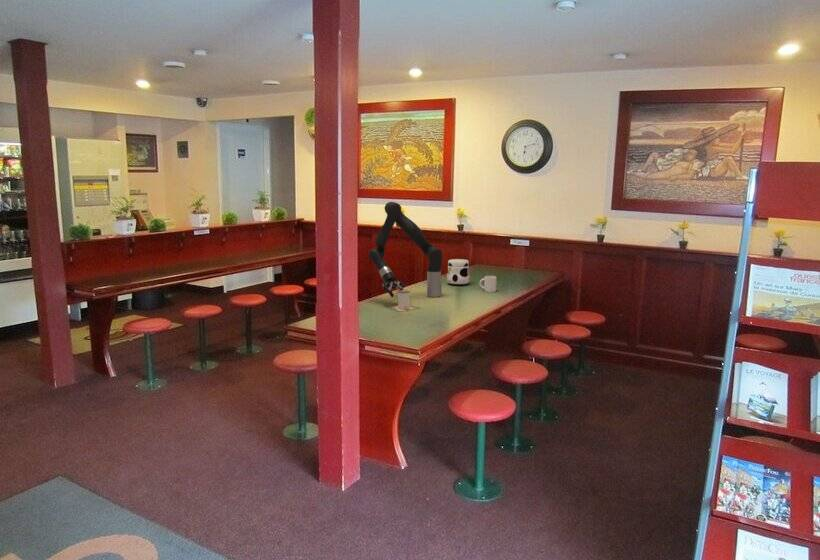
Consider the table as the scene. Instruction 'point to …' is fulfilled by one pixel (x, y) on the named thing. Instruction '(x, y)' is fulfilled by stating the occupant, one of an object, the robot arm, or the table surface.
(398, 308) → the mat
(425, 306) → the table surface
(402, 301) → the canister
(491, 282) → the mug
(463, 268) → the milk container
